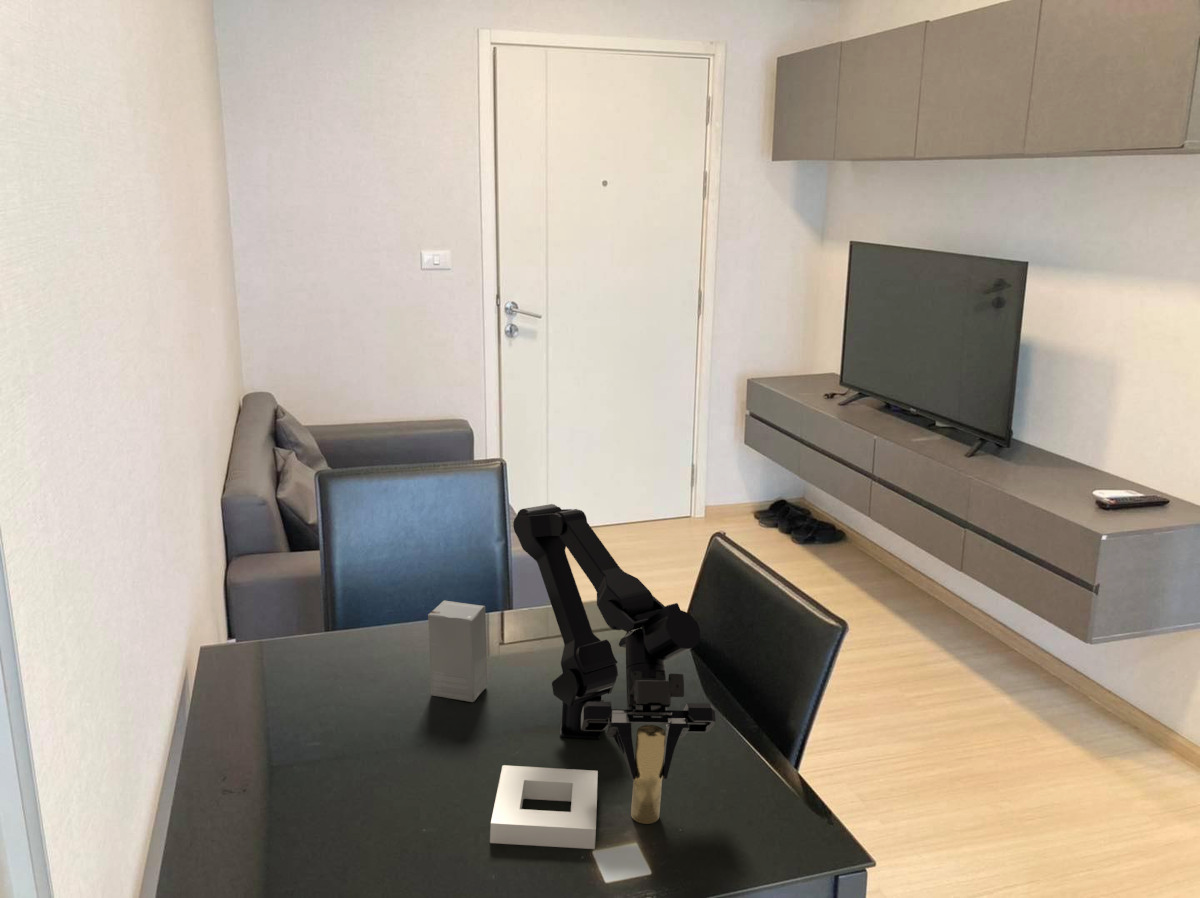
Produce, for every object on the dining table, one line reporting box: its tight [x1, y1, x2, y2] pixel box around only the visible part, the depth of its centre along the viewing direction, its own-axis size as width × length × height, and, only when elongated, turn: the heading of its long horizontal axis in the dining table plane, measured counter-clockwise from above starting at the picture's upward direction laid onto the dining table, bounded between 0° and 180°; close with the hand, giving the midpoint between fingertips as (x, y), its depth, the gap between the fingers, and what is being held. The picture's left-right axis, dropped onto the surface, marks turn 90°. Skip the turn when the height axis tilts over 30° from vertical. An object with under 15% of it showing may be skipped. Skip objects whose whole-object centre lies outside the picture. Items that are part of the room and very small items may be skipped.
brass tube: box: [630, 724, 666, 825], centre depth 136 cm, size 4×4×13 cm
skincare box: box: [427, 600, 488, 703], centre depth 168 cm, size 8×7×16 cm
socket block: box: [489, 764, 599, 850], centre depth 136 cm, size 14×14×3 cm
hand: (649, 779), depth 135 cm, fingers closed on brass tube, 4 cm apart
